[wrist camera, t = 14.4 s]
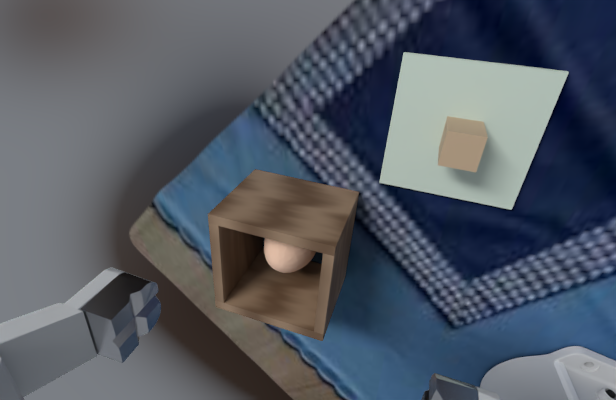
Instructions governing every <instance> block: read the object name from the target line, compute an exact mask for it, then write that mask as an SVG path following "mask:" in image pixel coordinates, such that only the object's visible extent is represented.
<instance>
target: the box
mask: <svg viewBox="0 0 616 400" xmlns="http://www.w3.org/2000/svg"><path fill="white" fill-rule="evenodd" d="M358 196H359V192H357V191H352V190H348V189H343V188H339V187H334V186H329V185H325V184H320V183H316V182H311V181H306V180H302V179H297V178H293V177H288V176H283V175H279V174H274V173H270V172H265V171H261V170H256V169H255V170H254V171H253V172H252V173H251V174H250V175H249V176H248V177H247V178H246V179H244V180H243V181H242V182H241V183H240V184H239V185H238V186H237V187H236V188H235V189H234V190H233V191H232V192H231V193H230V194H229V195H228V196H227V197H226V198H224V199H223V200H222V201H221V202H220V203H219V204H218V205H217V206H216V207H215V208H214V209H213V210H212V211H211V212H210V213H209V214H208V221H209V232H210V244H211V256H212V267H213V279H214V291H215V303H216V307H218V308H221V309H224V310H227V311H230V312H233V313H236V314H239V315H243V316H246V317H249V318H252V319H255V320H258V321H261V322H264V323H267V324H271V325H274V326H277V327H280V328H283V329H286V330H289V331H292V332H295V333H299V334H302V335H305V336H308V337H311V338H314V339H317V340H320V341H323V339H324V336H325V333H326V330H327V327H328V324H329V321H330V319H331V316H332V313H333V310H334V307H335V304H336V302H337V299H338V296H339V293H340V290H341V287H342V285H343V282H344V279H345V275H346V269H347V263H348V257H349V251H350V245H351V239H352V233H353V227H354V221H355V215H356V208H357V202H358ZM263 238H267V239H271V240H274V241H278V242H282V243H286V244H290V245H293V246H297V247H301V248H305V249H309V250H312V251H316V252H320V253H323V257H322V264H320V263H317V262H313V261H310V262H309V263H308V264H307V265H306V266H304V267H303V268H301V269H299V270H297V271H295V272H291V273H282V272H279V271H276V270H274V269H273V268H272V267H271V266H270V265H269V264H268V262H267V260H266V258H265V254H264V248H263Z"/></svg>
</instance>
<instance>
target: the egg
mask: <svg viewBox="0 0 616 400" xmlns="http://www.w3.org/2000/svg"><path fill="white" fill-rule="evenodd" d="M315 253H316V251H312V250H309V249H305V248H301V247H297V246H293V245H290V244H286V243H282V242H278V241H274V240H271V239H267V238H265V240H264V254H265V258H266V260H267V262H268V264H269V265H270V266H271V267H272V268H273V269H274V270H276V271H279V272H282V273H291V272H295V271H297V270H299V269H301V268H303V267H304V266H306V265H307V264H308V263H309V262H310V261H311V260H312V258H313V257H314V255H315Z"/></svg>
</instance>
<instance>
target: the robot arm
mask: <svg viewBox="0 0 616 400" xmlns="http://www.w3.org/2000/svg"><path fill="white" fill-rule="evenodd" d="M157 292H158V288H157V284H156V283H154V282H151V281H149V280H146V279H143V278H140V277H138V276H134V275H132V274H129V273H126V272H123V271H120V270H117V269H114V268H109V269H106V270H104V271H103V272H102V273H100V274H99V275H98V276H97V277H96V278H95V279H93V280H92V281H91V282H90V283H88V284H87V285H86V286H85V287H84V288H82V289H81V290H80V291H79V292H78V293H76V294H75V295H74V296H73V297H72V298H70V299H69V300H68V301H67V302H66V303H64V304H62V303H58V304H55V305H52V306H49V307H46V308H43V309H41V310H37V311H35V312H32V313H29V314H26V315H24V316H20V317H18V318H15V319H12V320H9V321H7V322H4V323H1V324H0V400H24V398H23V397H24V396H26V395H28V394H30V393H32V392H34V391H35V390H37V389H39V388H41V387H42V386H44V385H46V384H48V383H50V382H51V381H53V380H55V379H56V378H59V377H60V376H62V375H64V374H66V373H68V372H69V371H71V370H73V369H75V368H76V367H78V366H80V365H82V364H84V363H85V362H87V361H89V360H91V359H93V358H94V357H96V356H97V354H98V355H102V356H104V357H107V358H110V359H113V360H116V361H118V362H121V363H123V362H124V361H125V360H126V359H127V357H128V356H129V355H130V354H131V353H132V351H133V350H134V349H135V348H136V347H137V346H138V345H139V337H140V336H142V335H144V334H146V333H148V332H150V330H151V329H152V328H153V327H154V325H155V324H156V322H157V320H158V318H159V315H160V310H161V305H160V302H159V300H158V299H157V297H156V296H155V294H156V293H157ZM422 400H616V361H614V360H612V359H610V358H607V357H605V356H603V355H600V354H598V353H596V352H593V351H591V350H588V349H586V348H583V347H580V346H571V347H566V348H563V349H560V350H558V351H555V352H552V353H550V354H546V355H538V356H526V357H520V358H515V359H511V360H508V361H505V362H503V363H500V364H498V365H496V366H495V367H493V368H492V369H491V370H489V371H488V372H487V373H486V375H485V376H484V377H483V379H482V381H481V384H480V388H479V387H475V386H474V385H471V384H468V383H465V382H462V381H458V380H455V379H452V378H449V377H446V376H442V375H439V374H436V373H434V374H433V375H432V377H431V379H430V381H429V390H427V391H425V392H424V395H423V397H422Z"/></svg>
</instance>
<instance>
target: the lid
mask: <svg viewBox="0 0 616 400" xmlns="http://www.w3.org/2000/svg"><path fill="white" fill-rule="evenodd" d="M568 73H569V72H568V71H561V70H553V69H544V68H536V67H527V66H519V65H510V64H502V63H493V62H485V61H476V60H468V59H460V58H451V57H443V56H434V55H426V54H417V53H409V52H404V54H403V59H402V64H401V70H400V75H399V80H398V86H397V91H396V96H395V102H394V107H393V112H392V118H391V123H390V128H389V134H388V139H387V144H386V150H385V155H384V161H383V166H382V171H381V177H380V182H379V183H383V184H388V185H393V186H398V187H403V188H408V189H412V190H417V191H422V192H427V193H432V194H437V195H442V196H447V197H451V198H456V199H461V200H466V201H471V202H476V203H481V204H485V205H490V206H495V207H500V208H505V209H510V210H512V208H513V205H514V203H515V201H516V198H517V196H518V193H519V191H520V189H521V186H522V184H523V181H524V179H525V177H526V174H527V172H528V169H529V167H530V165H531V162H532V160H533V157H534V155H535V152H536V150H537V148H538V145H539V143H540V140H541V138H542V136H543V133H544V131H545V128H546V126H547V124H548V121H549V119H550V116H551V114H552V112H553V109H554V107H555V104H556V102H557V100H558V97H559V95H560V92H561V90H562V88H563V85H564V83H565V80H566V78H567V76H568Z"/></svg>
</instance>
